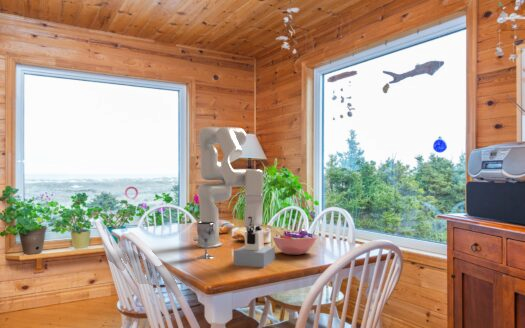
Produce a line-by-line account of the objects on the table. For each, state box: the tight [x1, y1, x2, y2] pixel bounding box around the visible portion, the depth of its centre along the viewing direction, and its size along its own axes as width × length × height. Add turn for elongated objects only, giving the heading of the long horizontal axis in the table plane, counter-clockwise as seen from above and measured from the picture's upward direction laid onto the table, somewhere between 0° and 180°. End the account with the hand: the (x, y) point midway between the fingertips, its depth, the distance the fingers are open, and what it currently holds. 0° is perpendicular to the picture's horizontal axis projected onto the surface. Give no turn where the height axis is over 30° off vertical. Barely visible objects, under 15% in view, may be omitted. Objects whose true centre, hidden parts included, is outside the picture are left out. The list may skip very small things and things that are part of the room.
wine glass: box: [196, 221, 215, 260], centre depth 168 cm, size 8×8×15 cm
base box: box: [233, 245, 276, 269], centre depth 158 cm, size 13×13×6 cm
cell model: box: [272, 228, 318, 256], centre depth 173 cm, size 17×20×11 cm
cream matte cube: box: [244, 230, 265, 251], centre depth 158 cm, size 6×6×7 cm
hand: (254, 241), depth 158 cm, fingers open, 7 cm apart
